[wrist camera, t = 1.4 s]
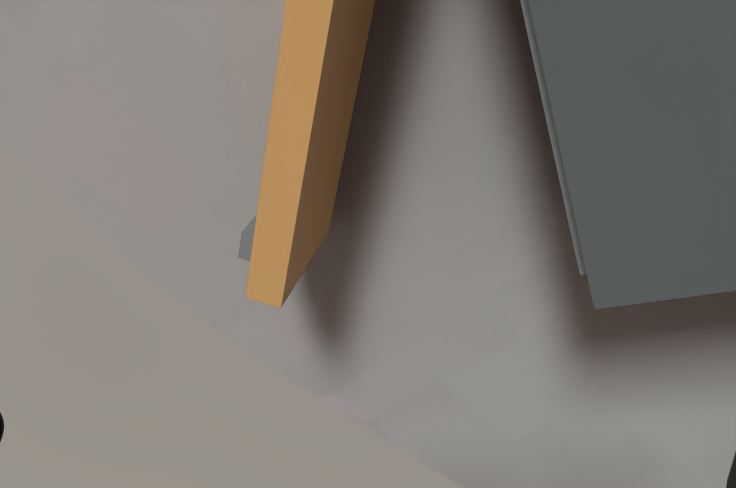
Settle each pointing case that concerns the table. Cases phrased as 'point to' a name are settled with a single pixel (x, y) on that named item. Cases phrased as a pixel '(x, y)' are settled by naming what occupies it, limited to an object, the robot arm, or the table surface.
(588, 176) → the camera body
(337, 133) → the side door
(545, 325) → the table surface
